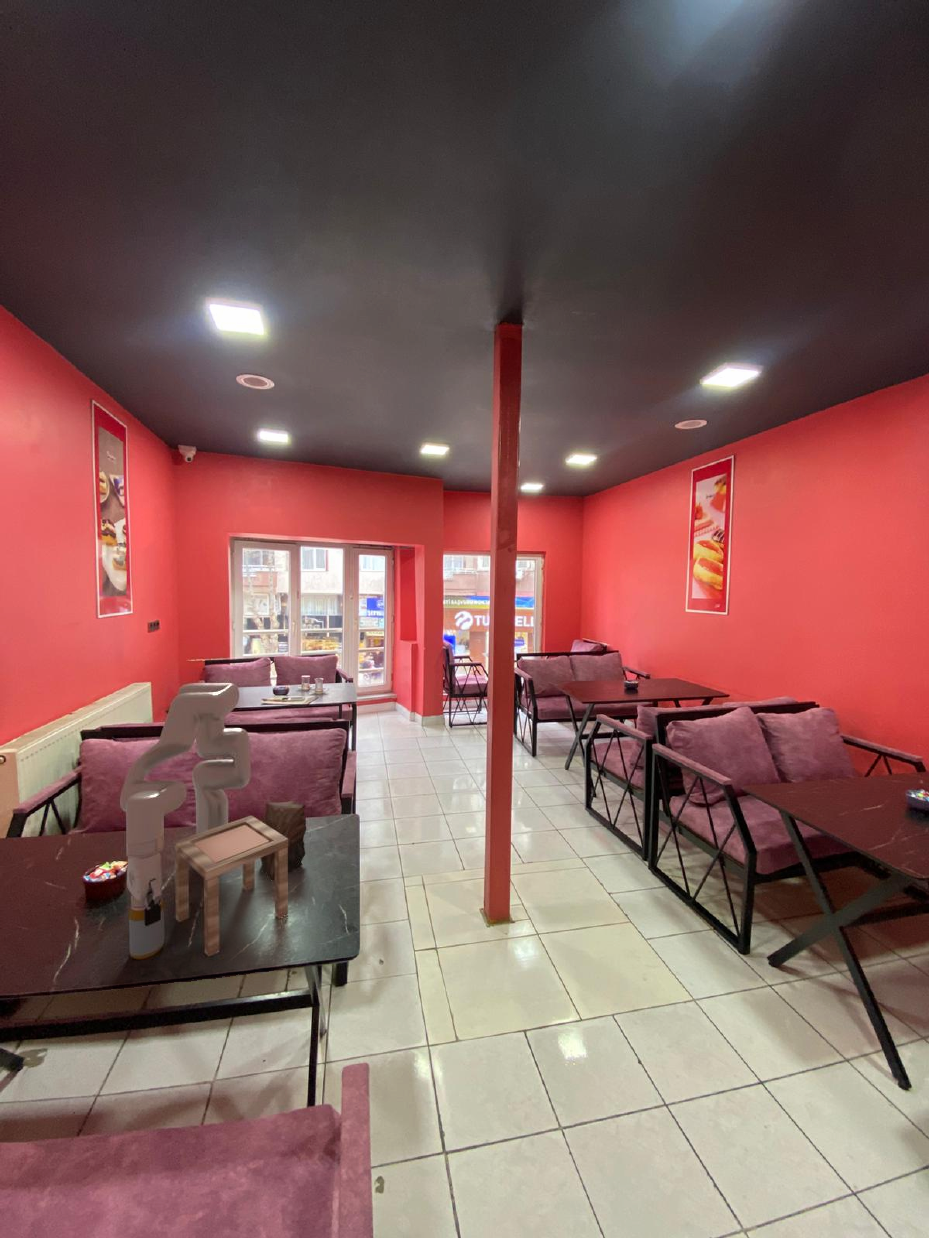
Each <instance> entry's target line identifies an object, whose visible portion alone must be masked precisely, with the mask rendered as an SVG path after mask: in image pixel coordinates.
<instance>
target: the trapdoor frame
mask: <svg viewBox="0 0 929 1238" xmlns="http://www.w3.org/2000/svg"><path fill="white" fill-rule="evenodd" d="M243 825H246V826H248V827H249V828H251V829H252V830H254V831H255V832H257V833H258V834H260V835H261V836H263V837H264V838H266V839H267V840H268V841H269V843H267V844H264V845H262V846H259V847H257V848H254V849H252V850H249V851H246V852H244V853H241V854H239V855H236V856H234V857H231V858H229V859H226V860H224V861H221V862H219V863H215V862H213V861H212V860H211V859H210V858H209V857H207V856H206V855H205V854H204V853H203V852H202V851H200V850H199V849H198V848H197V847H196V846H195V845H193V843H195V842H198V841H201V840H203V839H206V838H209V837H212V836H215V835H218V834H220V833H223V832H226V831H229V830H232V829H234V828H237V827H240V826H243ZM287 846H288V838H286V837H285V836H283V835H282V834H280V833H278V832H277V831H275V830H274V829H272V828H270V827H269V826H267V825H266V824H264V823H263V822H262V820H260V819H258V818H256V817H254V815H248V816H246V817H243V818H240V819H237V820H234V821H231V822H228V824H225V825H222V826H219V827H216V828H213V829H210V830H207V831H205V832H202V833H199V834H193V835H191V836H188V837H184V838H182V839H179V840H175V841H173V850H174V870H175V871H174V872H175V873H174V879H175V880H174V881H175V882H174V883H175V884H174V887H175V894H174V895H175V920H176V921H177V922H178V923H181V922H183V921H185V920H188V919H189V918H190V892H189V891H190V890H189V889H190V887H189V886H190V884H189V882H190V881H189V879H190V878H189V876H190V875H189V866H190V867H192V868H193V870H195V871H196V872H197V873H198V874H199V875H200V876H201V877H202V878H203V893H204V894H203V901H204V903H203V906H204V907H203V908H204V909H203V911H204V913H203V914H204V922H203V923H204V953H205V955H206V954H207V955H208V956H211V955H212V956H214V955H216V954H217V953H216V952H217V951H219V952H220V902H219V901H220V889H219V888H220V887H219V886H220V885H219V884H220V881H219V879H220V878H219V876H220V875H223V874H225V873H227V872H230V871H232V870H234V869H237V868H239V867H241V866H242V889H244V890H245V891H246V892H249V891H250V890H252V889H254V887H255V885H256V884H255V883H256V882H255V880H256V873H255V872H256V871H255V868H256V867H255V861H256V860H258V859H261V857H263V856H266V855H268V854H270V853H273V852H275V880H274V916H275V915H276V916H277V917H278V918H277V917H276V916H275V917H276V918H277V919H278V920H281V919H282V918H281V917H283V918H285V917H284V915H287V914H288V915H289V899H288V898H289V886H288V885H289V880H288V879H289V878H288V876H289V873H288V847H287ZM288 915H287V916H288ZM280 918H281V919H280ZM215 953H216V954H215ZM213 954H214V955H213ZM207 955H206V956H207ZM208 956H207V957H208ZM212 956H211V957H212Z"/></svg>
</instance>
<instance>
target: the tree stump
mask: <svg viewBox="0 0 929 1238" xmlns="http://www.w3.org/2000/svg"><path fill="white" fill-rule="evenodd" d="M265 807H266V809H265V812H264V815H263V816H262V819H261V822H263V823H264V824H266V825H267V826H269V827H270V828H272V829H274V830H275V831H277V832H278V833H280V834H282V835H283V836H285V837H286V838H288V846H287V847H288V874H289V873H291V872H292V870H293V869H294V870H296V869H299V868H300V867H301V866H303V864H302V863H303V862H302V861H303V860H304V857H305V856H306V850H305V849H306V848H305V839H304V838H305V833H306V832H307V820H306V819H307V818H306V814H305V810H306V809H305V808H306V804H300V803H299V802H297V801H295V800H289V801H282V802H275V801H268V802H266V803H265ZM260 861H261V868H262V869H263V871H264V872H265V874H266V873H267V874H266V877H267V876H268V877H269V878H268V877H267V878H268V879H269V880H270V879H271V880H272V881H275V880H274V879H275V852H273V853H270V854H268V855H266V856H263V857H261V858H260ZM301 862H302V863H301ZM294 870H293V871H294ZM271 880H270V881H271ZM272 881H271V882H272Z"/></svg>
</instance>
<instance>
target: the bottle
mask: <svg viewBox="0 0 929 1238" xmlns="http://www.w3.org/2000/svg"><path fill="white" fill-rule="evenodd" d="M150 893H152V892H148V893H147V895H148V894H150ZM162 893H163V892H162V889H161V920H160V921H158V922H155V923H153V924H151V925H149V926H145V915H144V909H146V905H145V900H144V899H142V900H141V901H139V900H137V899H136V898H135V897H134V896H133V895H132V893H131V892H130V910H129V914H128V924H129V926H128V929H129V931H128V932H129V935H128V936H129V956H130V957H131V958H132V959H135V960H144V959H148V958H151V957H152V956H154V955H156V954H157V953H159V952H160V951H161V949H162V948H163V947H164V945H165V907H164V901H163V899H162V898H163V897H162ZM151 900H153V896H152V897H150V898H149V903H150V902H151Z"/></svg>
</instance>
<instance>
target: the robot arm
mask: <svg viewBox="0 0 929 1238" xmlns="http://www.w3.org/2000/svg"><path fill="white" fill-rule="evenodd" d="M239 700H240V690H239V688H238V686H237V685H236V684H235V683H232V682H194V683H187V684H183V685H182V686H180V687H179V689H178V691H177V695H176V696H175V697H174V698H173V700H172V701H171V703H170V707H169V710H168V713H167V716H166V719H165V721H164V723H163V724H164V725H163V728H162V730H161V733H160V737H159V739H158V741H157V742H156V743H155V744H153V746H151V747H149V748H148V749H147V750H146V751H145V752H144V753H142V754H141V755H140V756H139V758H138V759H137V760H136V761H134V763H132V765H131V767H130V768H129V770H128V772H127V775H126V777H125V781H124V782H123V783H124V784H123V786H122V789H121V793H120V799H119V804H120V808H121V809H122V811H124V813H125V819H126V820H125V821H126V823H125V824H126V825H125V826H126V827H125V828H126V831H125V832H126V833H125V834H126V836H125V837H126V839H125V841H126V845H125V846H126V848H125V849H126V850H125V852H126V857H127V868H126V887H127V889H128V891H129V892H130V894H131V893H132V895H133V896H134V897H135V898H136V899H137V900H139V901H141V900H142V899H144V900H145V905H146V909H144V915H145V926H149V925H151V924H153V923H155V922H158V921H160V920H161V899H162V898H161V896H162V895H161V889H162V888H163V887H162V885H163V877H162V876H163V873H162V857H161V851H162V850H163V849H164V847H165V844H164V843H165V841H164V840H165V836H164V835H165V831H164V829H165V828H164V827H165V825H164V823H165V821H164V817H165V816H166V815H167V814H170V813H171V812H173V811H175V810H177V809H178V808H180V807H181V806H182V805H183V803H184V802H185V800H186V799H187V794H188V792H187V790H188V789H187V786H186V783H184V782H183V781H182V780H181V781H180V780H176V779H170V780H169V779H168V780H167V779H166V780H165V779H164V780H146V778H147V776H148V775H149V774H150V772H151V771H152V770H154V769H155V768H156V767H158V766H160V765H161V764H163V763H165V762H167V761H169V760H172V759H174V758H176V757H178V756H181V755H183V754H185V753H188V752H189V751H190V750H191V749H192V748H193V747H194V744H195V750H196V754H197V755H198V756H199V757H200V758H203V759H206V760H203V761H200V762H198V763H197V764H196V765H195V766H194V767H193V769H192V772H191V779H192V784H193V789H194V795H195V796H194V797H195V829H196V831H195V833H196V834H199V833H202V832H205V831H207V830H210V829H213V828H216V827H219V826H222V825H225V824H228V823H229V798H228V796H227V793H226V792H225V791H224V790H228V789H229V790H230V789H231V790H232V789H233V790H234V789H242V788H244V787H246V786H248V784H249V782H250V779H251V772H252V771H251V769H252V768H251V747H250V745H251V744H250V737H249V734H248V731H247V730H246V729H244V728H240V727H226V726H225V718H226V717H227V716H228V715H229V714H230V713H231V712H232V711H234V709H235V708H236V707H237V705H238V703H239ZM196 834H195V835H196ZM148 892H152V893H150V894H148V895H147V893H148ZM152 896H153V900H151V902H150V903H149V898H150V897H152Z"/></svg>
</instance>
